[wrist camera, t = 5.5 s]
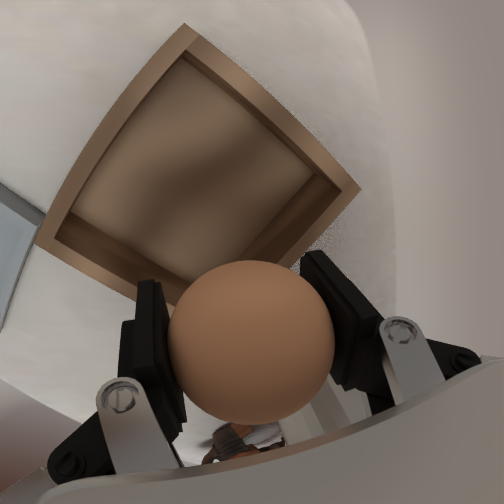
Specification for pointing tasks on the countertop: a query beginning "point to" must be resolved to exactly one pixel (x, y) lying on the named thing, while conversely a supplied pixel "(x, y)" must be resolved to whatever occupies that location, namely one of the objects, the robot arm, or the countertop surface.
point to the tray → (14, 242)
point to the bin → (192, 178)
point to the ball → (251, 342)
